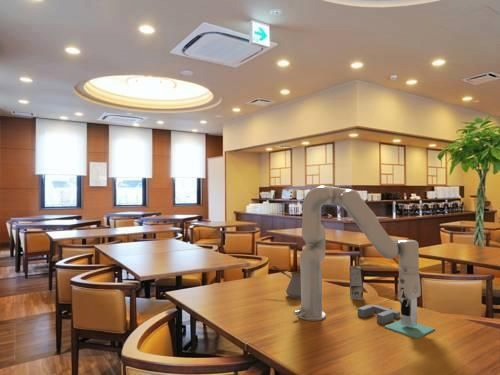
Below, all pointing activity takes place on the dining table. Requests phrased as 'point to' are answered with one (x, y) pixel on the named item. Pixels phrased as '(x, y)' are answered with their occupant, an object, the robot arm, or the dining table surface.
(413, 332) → the mat
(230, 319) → the dining table surface
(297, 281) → the coffee pot
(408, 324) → the steel bar
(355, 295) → the coffee box
